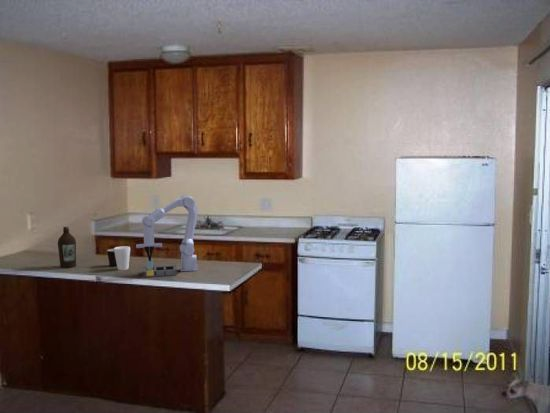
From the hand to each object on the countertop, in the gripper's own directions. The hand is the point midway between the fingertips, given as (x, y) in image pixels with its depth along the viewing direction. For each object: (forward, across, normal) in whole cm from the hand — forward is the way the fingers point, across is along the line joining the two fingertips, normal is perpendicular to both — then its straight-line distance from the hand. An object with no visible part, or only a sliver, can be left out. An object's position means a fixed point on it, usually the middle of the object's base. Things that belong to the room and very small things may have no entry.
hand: (149, 259), depth 331 cm
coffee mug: (+9, +20, -31) cm, 38 cm away
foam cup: (+9, +16, -20) cm, 27 cm away
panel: (+8, 0, 0) cm, 8 cm away
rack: (+8, -6, 0) cm, 10 cm away
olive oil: (+9, +50, -36) cm, 63 cm away
